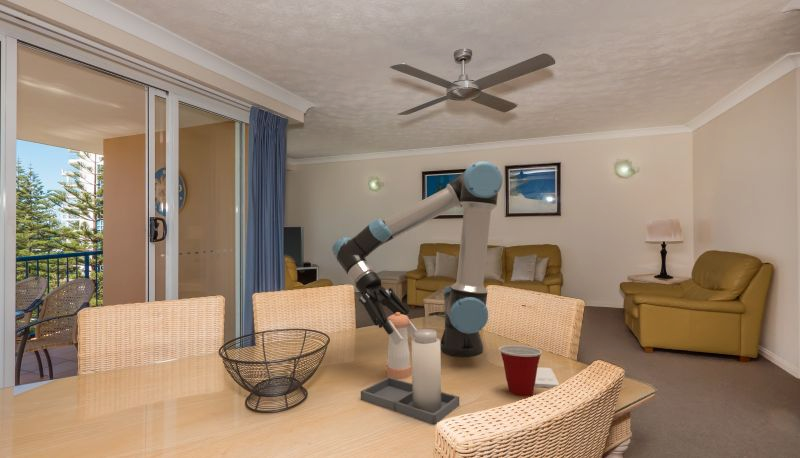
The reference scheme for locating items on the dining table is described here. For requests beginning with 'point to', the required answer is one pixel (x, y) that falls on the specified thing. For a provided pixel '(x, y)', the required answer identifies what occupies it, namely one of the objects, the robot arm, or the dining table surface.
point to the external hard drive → (545, 378)
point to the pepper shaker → (399, 349)
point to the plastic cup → (520, 368)
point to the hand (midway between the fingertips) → (407, 338)
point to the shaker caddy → (406, 400)
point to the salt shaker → (426, 371)
